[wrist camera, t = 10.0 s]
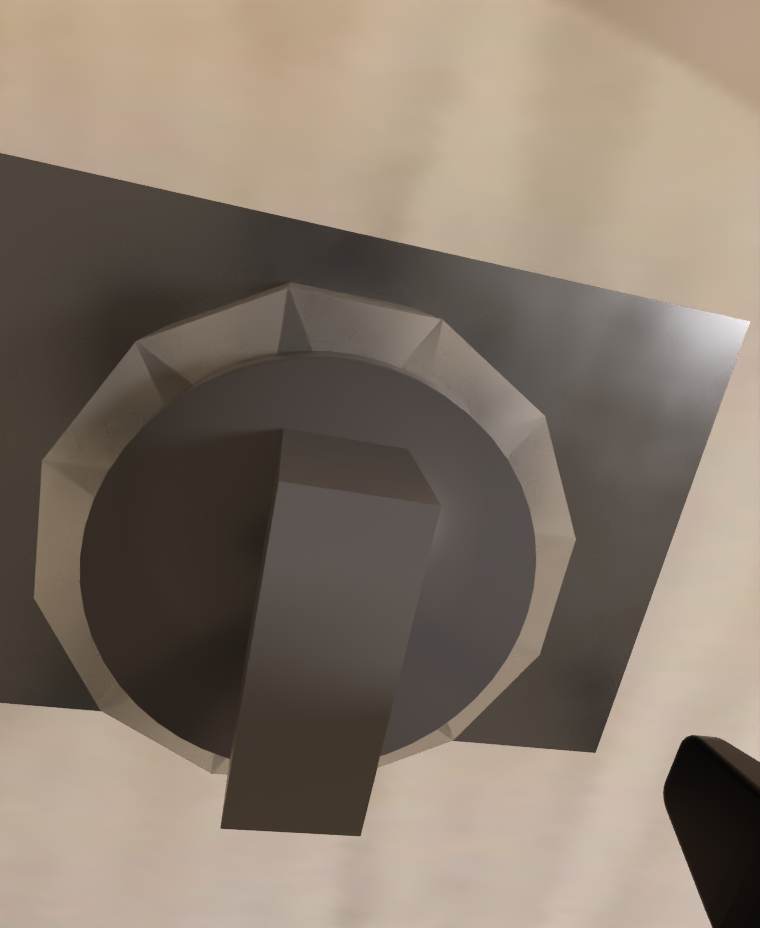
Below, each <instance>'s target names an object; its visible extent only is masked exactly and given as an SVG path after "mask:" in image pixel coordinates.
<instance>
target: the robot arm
mask: <svg viewBox="0 0 760 928" xmlns="http://www.w3.org/2000/svg"><path fill="white" fill-rule="evenodd" d="M663 796H664V803H665V807H666V810H667V813H668V815H669V818H670V820H671V823H672V825H673V828H674V831H675V833H676V836H677V838H678V841H679V844H680V846H681V849H682V851H683V854H684V856H685V859H686V862H687V864H688V867H689V869H690V872H691V875H692V877H693V880H694V882H695V885H696V887H697V890H698V893H699V895H700V898H701V900H702V903H703V906H704V908H705V911H706V913H707V916H708V918H709V921H710V923H711V925H712V928H760V762H759V761H757V760H755V759H754V758H752V757H751V756H749V755H747V754H746V753H744V752H742V751H741V750H739V749H737V748H736V747H734V746H733V745H731V744H729V743H728V742H726V741H724V740H722V739H720V738H717V737H708V736H697V735H691V736H688V737H686V738H685V739H684V740H683V741H682V743H681V745H680V747H679V749H678V752H677V754H676V757H675V759H674V762H673V764H672V767H671V769H670V772H669V774H668V777H667V779H666V781H665V785H664V790H663Z"/></svg>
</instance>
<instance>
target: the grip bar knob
mask: <svg viewBox="0 0 760 928" xmlns="http://www.w3.org/2000/svg"><path fill="white" fill-rule="evenodd" d="M535 570H536V546H535V533H534V528H533V523H532V518H531V513H530V509H529V506H528V503H527V500H526V497H525V494H524V492H523V489H522V486H521V484H520V482H519V480H518V478H517V476H516V474H515V472H514V470H513V468H512V466H511V464H510V463H509V461H508V459H507V458H506V456H505V455H504V454H503V452H502V451H501V450H500V448H499V447H498V445H497V444H496V443H495V441H494V440H493V439H492V437H491V436H490V435H489V434H488V433H487V432H486V431H485V430H484V429H483V428H482V427H481V426H480V425H479V424H478V423H477V422H476V421H475V420H474V419H473V418H472V417H471V416H470V415H469V414H468V413H467V412H466V411H465V410H463V409H462V408H461V407H460V406H459V405H458V404H457V403H456V402H454V401H453V400H452V399H450V398H449V397H448V396H446V395H445V394H444V393H443V392H441V391H440V390H439V389H437V388H436V387H435V386H433V385H431V384H430V383H428V382H426V381H424V380H423V379H421V378H419V377H417V376H416V375H414V374H412V373H410V372H408V371H405V370H403V369H400V368H398V367H396V366H393V365H391V364H388V363H386V362H383V361H379V360H375V359H371V358H367V357H363V356H360V355H356V354H347V353H339V352H331V351H294V352H287V353H279V354H272V355H265V356H262V357H258V358H255V359H251V360H248V361H244V362H240V363H237V364H234V365H232V366H230V367H227V368H225V369H223V370H220V371H218V372H216V373H213V374H211V375H209V376H207V377H205V378H204V379H202V380H200V381H199V382H197V383H195V384H194V385H192V386H190V387H189V388H187V389H185V390H184V391H182V392H181V393H180V394H178V395H177V396H176V397H175V398H173V399H172V400H171V401H170V402H169V403H167V404H166V405H165V406H164V407H162V408H161V409H160V410H159V411H158V412H157V413H156V414H155V415H154V416H153V417H152V418H151V419H150V420H149V422H148V423H147V424H146V425H145V426H144V427H143V428H142V429H141V430H140V431H139V432H138V433H137V434H136V436H135V437H134V438H133V439H132V440H131V441H130V442H129V443H128V444H127V445H126V446H125V447H124V449H123V450H122V452H121V453H120V455H119V456H118V458H117V459H116V460H115V462H114V463H113V465H112V466H111V468H110V469H109V470H108V472H107V473H106V475H105V478H104V480H103V482H102V484H101V486H100V488H99V490H98V492H97V494H96V496H95V498H94V500H93V503H92V506H91V509H90V512H89V515H88V518H87V522H86V525H85V528H84V534H83V540H82V547H81V553H80V589H81V595H82V602H83V608H84V613H85V617H86V620H87V623H88V626H89V630H90V633H91V636H92V639H93V641H94V643H95V645H96V647H97V649H98V651H99V653H100V655H101V658H102V660H103V662H104V663H105V665H106V666H107V668H108V669H109V671H110V672H111V674H112V675H113V677H114V678H115V680H116V681H117V683H118V684H119V686H120V687H121V688H122V689H123V690H124V691H125V692H126V693H127V695H128V696H129V697H130V698H131V699H132V700H133V701H134V702H135V704H136V705H137V706H138V707H140V708H141V709H142V710H143V711H144V712H145V713H147V714H148V715H149V716H150V717H151V718H152V719H154V720H155V721H156V722H157V723H158V724H160V725H161V726H163V727H164V728H166V729H167V730H169V731H170V732H172V733H173V734H175V735H176V736H178V737H180V738H181V739H183V740H185V741H187V742H189V743H191V744H193V745H195V746H197V747H199V748H201V749H203V750H206V751H209V752H211V753H214V754H217V755H220V756H222V757H225V758H228V759H230V762H229V769H228V777H227V784H226V792H225V799H224V806H223V814H222V821H221V829H237V830H256V831H274V832H292V833H311V834H329V835H348V836H361V832H362V828H363V824H364V820H365V816H366V811H367V807H368V803H369V799H370V795H371V791H372V787H373V783H374V779H375V775H376V771H377V767H378V763H379V758H380V756H383V755H386V754H389V753H391V752H394V751H396V750H398V749H401V748H403V747H405V746H408V745H410V744H412V743H414V742H416V741H418V740H420V739H421V738H423V737H425V736H427V735H429V734H430V733H432V732H434V731H436V730H437V729H438V728H440V727H441V726H443V725H444V724H445V723H447V722H448V721H450V720H451V719H453V718H454V717H455V716H457V715H458V714H459V713H460V712H461V711H462V710H463V709H465V708H466V707H467V706H468V705H469V704H470V703H471V702H472V701H473V700H475V699H476V698H477V697H478V695H479V694H480V693H481V692H482V691H483V690H484V689H485V688H486V686H487V685H488V684H489V683H490V682H491V681H492V680H493V678H494V677H495V675H496V674H497V673H498V671H499V670H500V668H501V667H502V665H503V664H504V663H505V661H506V660H507V658H508V656H509V654H510V653H511V651H512V649H513V647H514V645H515V643H516V641H517V639H518V637H519V635H520V633H521V630H522V627H523V625H524V622H525V619H526V617H527V614H528V611H529V607H530V602H531V598H532V594H533V589H534V582H535Z"/></svg>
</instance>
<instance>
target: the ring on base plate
mask: <svg viewBox="0 0 760 928" xmlns="http://www.w3.org/2000/svg"><path fill="white" fill-rule="evenodd" d="M749 323H750V321H746V320H742V319H737V318H733V317H728V316H724V315H719V314H715V313H710V312H706V311H701V310H697V309H692V308H688V307H684V306H679V305H675V304H670V303H666V302H661V301H657V300H652V299H648V298H643V297H639V296H635V295H630V294H626V293H621V292H617V291H612V290H608V289H603V288H599V287H594V286H590V285H586V284H581V283H577V282H572V281H568V280H563V279H559V278H554V277H550V276H545V275H541V274H537V273H532V272H528V271H523V270H519V269H514V268H510V267H505V266H501V265H496V264H492V263H488V262H483V261H479V260H474V259H470V258H465V257H461V256H456V255H452V254H447V253H443V252H439V251H434V250H430V249H425V248H421V247H416V246H412V245H407V244H403V243H398V242H394V241H390V240H385V239H381V238H376V237H372V236H367V235H363V234H358V233H354V232H349V231H345V230H341V229H336V228H332V227H327V226H323V225H318V224H314V223H309V222H305V221H300V220H296V219H292V218H287V217H283V216H278V215H274V214H269V213H265V212H260V211H256V210H251V209H247V208H243V207H238V206H234V205H229V204H225V203H220V202H216V201H211V200H207V199H202V198H198V197H194V196H189V195H185V194H180V193H176V192H171V191H167V190H162V189H158V188H153V187H149V186H145V185H140V184H136V183H131V182H127V181H122V180H118V179H113V178H109V177H104V176H100V175H96V174H91V173H87V172H82V171H78V170H73V169H69V168H64V167H60V166H55V165H51V164H47V163H42V162H38V161H33V160H29V159H24V158H20V157H15V156H11V155H6V154H2V153H0V703H10V704H22V705H34V706H46V707H58V708H70V709H82V710H94V711H103V712H104V713H106V714H108V715H110V716H111V717H113V718H115V719H117V720H118V721H120V722H122V723H124V724H125V725H127V726H129V727H131V728H132V729H134V730H136V731H138V732H139V733H141V734H143V735H145V736H147V737H148V738H150V739H152V740H154V741H155V742H157V743H159V744H161V745H162V746H164V747H166V748H168V749H169V750H171V751H173V752H175V753H176V754H178V755H180V756H182V757H183V758H185V759H187V760H189V761H190V762H192V763H194V764H196V765H197V766H199V767H201V768H203V769H204V770H206V771H208V772H210V773H211V774H226V775H228V769H229V762H230V759H228V758H225V757H222V756H220V755H217V754H214V753H211V752H209V751H206V750H203V749H201V748H199V747H197V746H195V745H193V744H191V743H189V742H187V741H185V740H183V739H181V738H180V737H178V736H176V735H175V734H173V733H172V732H170V731H169V730H167V729H166V728H164V727H163V726H161V725H160V724H158V723H157V722H156V721H155V720H154V719H152V718H151V717H150V716H149V715H148V714H147V713H145V712H144V711H143V710H142V709H141V708H140V707H138V706H137V705H136V704H135V702H134V701H133V700H132V699H131V698H130V697H129V696H128V695H127V693H126V692H125V691H124V690H123V689H122V688H121V687H120V686H119V684H118V683H117V681H116V680H115V678H114V677H113V675H112V674H111V672H110V671H109V669H108V668H107V666H106V665H105V663H104V662H103V660H102V658H101V655H100V653H99V651H98V649H97V647H96V645H95V643H94V641H93V639H92V636H91V633H90V630H89V626H88V623H87V620H86V617H85V613H84V608H83V602H82V595H81V589H80V553H81V547H82V540H83V534H84V528H85V525H86V522H87V518H88V515H89V512H90V509H91V506H92V503H93V500H94V498H95V496H96V494H97V492H98V490H99V488H100V486H101V484H102V482H103V480H104V478H105V475H106V473H107V472H108V470H109V469H110V468H111V466H112V465H113V463H114V462H115V460H116V459H117V458H118V456H119V455H120V453H121V452H122V450H123V449H124V447H125V446H126V445H127V444H128V443H129V442H130V441H131V440H132V439H133V438H134V437H135V436H136V434H137V433H138V432H139V431H140V430H141V429H142V428H143V427H144V426H145V425H146V424H147V423H148V422H149V420H150V419H151V418H152V417H153V416H154V415H155V414H156V413H157V412H158V411H159V410H160V409H161V408H162V407H164V406H165V405H166V404H167V403H169V402H170V401H171V400H172V399H173V398H175V397H176V396H177V395H178V394H180V393H181V392H182V391H184V390H185V389H187V388H189V387H190V386H192V385H194V384H195V383H197V382H199V381H200V380H202V379H204V378H205V377H207V376H209V375H211V374H213V373H216V372H218V371H220V370H223V369H225V368H227V367H230V366H232V365H234V364H237V363H240V362H244V361H248V360H251V359H255V358H258V357H262V356H265V355H272V354H279V353H287V352H294V351H331V352H339V353H347V354H356V355H360V356H363V357H367V358H371V359H375V360H379V361H383V362H386V363H388V364H391V365H393V366H396V367H398V368H400V369H403V370H405V371H408V372H410V373H412V374H414V375H416V376H417V377H419V378H421V379H423V380H424V381H426V382H428V383H430V384H431V385H433V386H435V387H436V388H437V389H439V390H440V391H441V392H443V393H444V394H445V395H446V396H448V397H449V398H450V399H452V400H453V401H454V402H456V403H457V404H458V405H459V406H460V407H461V408H462V409H463V410H465V411H466V412H467V413H468V414H469V415H470V416H471V417H472V418H473V419H474V420H475V421H476V422H477V423H478V424H479V425H480V426H481V427H482V428H483V429H484V430H485V431H486V432H487V433H488V434H489V435H490V436H491V437H492V439H493V440H494V441H495V443H496V444H497V445H498V447H499V448H500V450H501V451H502V452H503V454H504V455H505V456H506V458H507V459H508V461H509V463H510V464H511V466H512V468H513V470H514V472H515V474H516V476H517V478H518V480H519V482H520V484H521V486H522V489H523V492H524V494H525V497H526V500H527V503H528V506H529V509H530V513H531V518H532V523H533V528H534V533H535V546H536V570H535V582H534V589H533V594H532V598H531V602H530V607H529V611H528V614H527V617H526V619H525V622H524V625H523V627H522V630H521V633H520V635H519V637H518V639H517V641H516V643H515V645H514V647H513V649H512V651H511V653H510V654H509V656H508V658H507V660H506V661H505V663H504V664H503V665H502V667H501V668H500V670H499V671H498V673H497V674H496V675H495V677H494V678H493V680H492V681H491V682H490V683H489V684H488V685H487V686H486V688H485V689H484V690H483V691H482V692H481V693H480V694H479V695H478V697H477V698H476V699H475V700H473V701H472V702H471V703H470V704H469V705H468V706H467V707H466V708H465V709H463V710H462V711H461V712H460V713H459V714H458V715H457V716H455V717H454V718H453V719H451V720H450V721H448V722H447V723H445V724H444V725H443V726H441V727H440V728H438V729H437V730H436V731H434V732H432V733H430V734H429V735H427V736H425V737H423V738H421V739H420V740H418V741H416V742H414V743H412V744H410V745H408V746H405V747H403V748H401V749H398V750H396V751H394V752H391V753H389V754H386V755H383V756H380V758H379V763H378V767H381V766H383V765H386V764H389V763H392V762H394V761H397V760H400V759H403V758H406V757H408V756H411V755H414V754H417V753H419V752H422V751H425V750H428V749H430V748H433V747H436V746H439V745H441V744H444V743H447V742H450V741H462V742H474V743H486V744H498V745H510V746H521V747H533V748H545V749H557V750H569V751H581V752H593V753H595V752H596V750H597V747H598V744H599V741H600V738H601V736H602V733H603V730H604V727H605V725H606V722H607V719H608V716H609V713H610V711H611V708H612V705H613V702H614V699H615V697H616V694H617V691H618V688H619V686H620V683H621V680H622V677H623V674H624V672H625V669H626V666H627V663H628V660H629V658H630V655H631V652H632V649H633V646H634V644H635V641H636V638H637V635H638V633H639V630H640V627H641V624H642V621H643V619H644V616H645V613H646V610H647V607H648V605H649V602H650V599H651V596H652V594H653V591H654V588H655V585H656V582H657V580H658V577H659V574H660V571H661V568H662V566H663V563H664V560H665V557H666V555H667V552H668V549H669V546H670V543H671V541H672V538H673V535H674V532H675V529H676V527H677V524H678V521H679V518H680V515H681V513H682V510H683V507H684V504H685V502H686V499H687V496H688V493H689V490H690V488H691V485H692V482H693V479H694V476H695V474H696V471H697V468H698V465H699V463H700V460H701V457H702V454H703V451H704V449H705V446H706V443H707V440H708V437H709V435H710V432H711V429H712V426H713V423H714V421H715V418H716V415H717V412H718V410H719V407H720V404H721V401H722V398H723V396H724V393H725V390H726V387H727V384H728V382H729V379H730V376H731V373H732V371H733V368H734V365H735V362H736V359H737V357H738V354H739V351H740V348H741V345H742V343H743V340H744V337H745V334H746V332H747V329H748V326H749ZM378 767H377V768H378Z"/></svg>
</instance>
